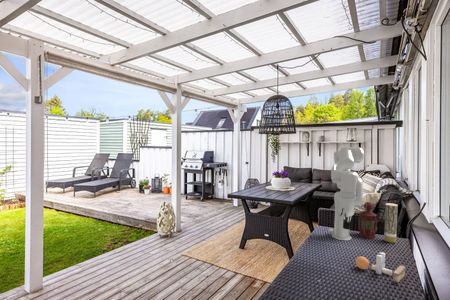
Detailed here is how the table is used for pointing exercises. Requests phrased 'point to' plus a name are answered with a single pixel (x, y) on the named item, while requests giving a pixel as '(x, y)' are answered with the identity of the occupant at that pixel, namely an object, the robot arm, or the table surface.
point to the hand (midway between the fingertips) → (346, 228)
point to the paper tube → (390, 222)
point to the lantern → (367, 221)
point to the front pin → (383, 270)
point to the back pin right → (379, 264)
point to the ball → (362, 262)
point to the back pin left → (383, 259)
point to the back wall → (399, 274)
